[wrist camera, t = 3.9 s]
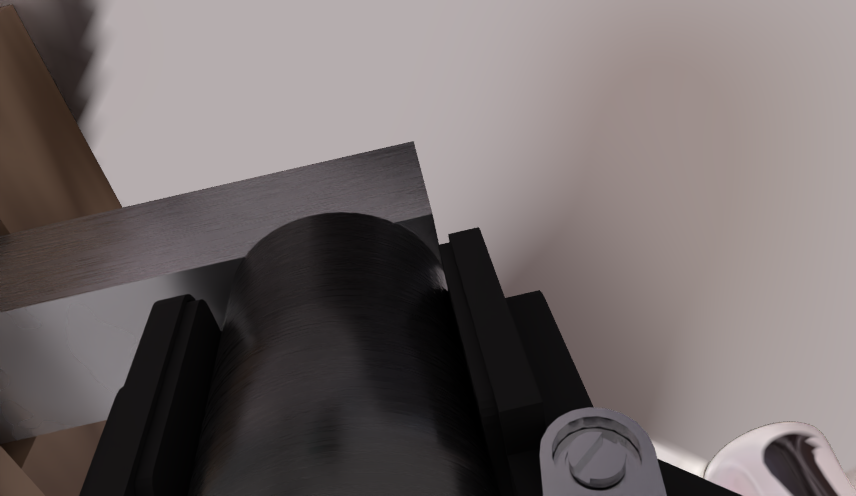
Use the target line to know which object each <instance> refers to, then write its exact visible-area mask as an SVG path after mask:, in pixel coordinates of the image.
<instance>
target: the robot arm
mask: <svg viewBox="0 0 856 496" xmlns="http://www.w3.org/2000/svg"><path fill="white" fill-rule="evenodd" d="M449 241H450V242H449V243H445V244H440V245H438V246H439V251H440V256H441V261H442V265H443V270H444V274H445V279H446V284H447V288H448V293H449V297H450V301H451V305H452V309H453V313H454V317H455V321H456V325H457V329H458V333H459V337H460V341H461V345H462V349H463V353H464V357H465V361H466V365H467V369H468V373H469V377H470V381H471V385H472V389H473V393H474V397H475V401H476V405H477V409H478V413H479V417H480V421H481V425H482V429H483V433H484V437H485V441H486V445H487V449H488V453H489V457H490V461H491V465H492V469H493V473H494V475H495V477H496V480H497V483H498V486H499V489H500V493H501V496H743V495H740V494H738V493H736V492H733V491H731V490H729V489H726V488H724V487H722V486H719V485H717V484H715V483H712V482H710V481H708V480H705V479H703V478H701V477H699V476H696V475H694V474H692V473H689V472H687V471H685V470H682V469H680V468H678V467H675V466H673V465H671V464H668V463H666V462H664V461H662V460H659V459H657V456H656V452H655V448H654V446H653V444H652V442H651V440H650V438H649V435H648V434H647V432H646V431H645V430H644V429H643V428H642V427H641V426H640V425H639V424H638V423H637V422H636V421H634V420H633V419H631V418H629V417H628V416H626V415H624V414H622V413H620V412H616V411H613V410H610V409H607V408H594V407H593V405H592V403H591V400H590V398H589V396H588V394H587V391H586V389H585V387H584V385H583V383H582V380H581V378H580V376H579V373H578V371H577V369H576V367H575V365H574V362H573V360H572V358H571V356H570V353H569V351H568V349H567V347H566V344H565V342H564V340H563V338H562V335H561V333H560V331H559V329H558V327H557V324H556V322H555V320H554V318H553V315H552V313H551V311H550V309H549V307H548V304H547V302H546V300H545V298H544V296H543V294H542V293H541V291H540V290H539V291H534V292H530V293H525V294H521V295H517V296H512V297H508V298H505V297H504V294H503V291H502V289H501V286H500V283H499V280H498V278H497V275H496V272H495V270H494V267H493V264H492V261H491V259H490V256H489V253H488V250H487V247H486V245H485V242H484V239H483V237H482V234H481V231H480V229H479V228H473V229H469V230H465V231H460V232H456V233H452V234H449ZM221 333H222V332H221V330H220V328H219V326H218V324H217V322H216V320H215V318H214V316H213V314H212V312H211V310H210V308H209V306H208V304H207V303H206V301H204V300H203V299H200V300H195V298H194V297H193V296H192V295H191V294H185V295H180V296H176V297H172V298H167V299H163V300H158V301H156V302H155V303H154V304H153V306H152V309H151V312H150V314H149V317H148V320H147V323H146V325H145V328H144V331H143V334H142V336H141V339H140V342H139V345H138V348H137V350H136V353H135V356H134V359H133V361H132V364H131V367H130V370H129V372H128V375H127V378H126V381H125V384H124V386H123V387H122V388H120V389H119V391H118V393H117V395H116V397H115V399H114V402H113V405H112V407H111V410H110V413H109V415H108V418H107V421H106V424H105V426H104V429H103V432H102V434H101V437H100V440H99V443H98V445H97V448H96V451H95V453H94V456H93V459H92V462H91V464H90V467H89V470H88V472H87V475H86V478H85V480H84V483H83V486H82V489H81V491H80V494H79V496H187V495H188V491H189V486H190V481H191V476H192V472H193V467H194V462H195V457H196V452H197V448H198V443H199V438H200V433H201V429H202V424H203V419H204V414H205V409H206V405H207V400H208V395H209V390H210V385H211V381H212V376H213V371H214V366H215V362H216V357H217V352H218V347H219V342H220V338H221Z"/></svg>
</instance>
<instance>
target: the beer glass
mask: <svg viewBox="0 0 856 496" xmlns="http://www.w3.org/2000/svg"><path fill="white" fill-rule="evenodd" d="M704 479H705V480H708V481H710V482H712V483H715V484H717V485H719V486H722V487H724V488H726V489H729V490H731V491H733V492H736V493H738V494H740V495H743V496H856V490H855V488H854V487H853V486H852V484H851V482H850V481H849V479H848V478H847V476H846V474H845V473H844V471H843V469H842V467H841V465H840V463H839V461H838V460H837V458H836V456H835V454H834V452H833V450H832V448H831V446H830V444H829V442H828V441H827V439H826V437H825V436H824V434H823V433H822V432H821V431H820V430H818V429H817V428H816V427H814V426H812V425H809V424H806V423H801V422H779V423H773V424H768V425H765V426H762V427H758V428H756V429H753V430H751V431H748V432H747V433H744V434H742V435H741V436H739V437H737V438H735V439H734V440H733V441H731V442H729V443H728V444H727V445H725V446H724V447H723V448H722V449H721V450H720V451H719V452H718V453H717V454H716V455H715V456H714V457H713V459H712V460H711V461H710V463H709V465H708V467H707V469H706V472H705V476H704Z"/></svg>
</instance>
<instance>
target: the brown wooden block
mask: <svg viewBox="0 0 856 496" xmlns="http://www.w3.org/2000/svg"><path fill="white" fill-rule="evenodd" d="M119 208H122V206H121V204H120V202H119V200H118V199H117V197H116V195H115V193H114V191H113V189H112V188H111V186H110V184H109V182H108V180H107V178H106V176H105V175H104V173H103V171H102V169H101V167H100V165H99V164H98V162H97V160H96V158H95V156H94V154H93V153H92V151H91V149H90V147H89V145H88V143H87V142H86V140H85V138H84V136H83V134H82V132H81V130H80V129H79V127H78V125H77V123H76V121H75V119H74V118H73V116H72V114H71V112H70V110H69V108H68V107H67V105H66V103H65V101H64V99H63V97H62V95H61V94H60V92H59V90H58V88H57V86H56V84H55V83H54V81H53V79H52V77H51V75H50V73H49V72H48V70H47V68H46V66H45V64H44V62H43V61H42V59H41V57H40V55H39V53H38V51H37V49H36V48H35V46H34V44H33V42H32V40H31V38H30V37H29V35H28V33H27V31H26V29H25V27H24V26H23V24H22V22H21V20H20V18H19V16H18V15H17V13H16V11H15V9H14V7H13V5H8V6H3V7H0V236H1V235H6V234H10V233H14V232H19V231H23V230H27V229H32V228H36V227H41V226H45V225H49V224H54V223H58V222H62V221H67V220H71V219H76V218H80V217H84V216H89V215H93V214H97V213H102V212H106V211H111V210H115V209H119ZM106 421H107V420H104V421H100V422H95V423H91V424H86V425H82V426H78V427H73V428H69V429H65V430H60V431H56V432H51V433H47V434H43V435H38V436H34V437H30V438H25V439H21V440H16V441H12V442H8V443H3V444H0V496H79V494H80V491H81V489H82V486H83V483H84V480H85V478H86V475H87V472H88V470H89V467H90V464H91V462H92V459H93V456H94V453H95V451H96V448H97V445H98V443H99V440H100V437H101V434H102V432H103V429H104V426H105V424H106Z"/></svg>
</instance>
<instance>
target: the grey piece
mask: <svg viewBox="0 0 856 496" xmlns="http://www.w3.org/2000/svg"><path fill="white" fill-rule="evenodd" d="M438 245H439V243H438V238H437V233H436V229H435V224H434V219H433V215H432V211H431V207H430V203H429V199H428V195H427V191H426V188H425V184H424V180H423V176H422V172H421V168H420V164H419V161H418V157H417V153H416V149H415V145H414V142H408V143H404V144H399V145H395V146H391V147H386V148H382V149H378V150H373V151H369V152H365V153H360V154H356V155H352V156H347V157H342V158H339V159H334V160H329V161H325V162H321V163H316V164H312V165H308V166H303V167H299V168H294V169H290V170H286V171H281V172H277V173H272V174H268V175H264V176H260V177H255V178H251V179H246V180H242V181H238V182H233V183H229V184H224V185H220V186H216V187H211V188H207V189H202V190H198V191H194V192H190V193H185V194H181V195H176V196H172V197H168V198H163V199H159V200H154V201H150V202H146V203H141V204H137V205H133V206H128V207H124V208H119V209H115V210H111V211H106V212H102V213H97V214H93V215H89V216H84V217H80V218H76V219H71V220H67V221H62V222H58V223H54V224H49V225H45V226H41V227H36V228H32V229H27V230H23V231H19V232H14V233H10V234H6V235H1V236H0V444H3V443H8V442H12V441H16V440H21V439H25V438H30V437H34V436H38V435H43V434H47V433H51V432H56V431H60V430H65V429H69V428H73V427H78V426H82V425H86V424H91V423H95V422H100V421H104V420H107V418H108V415H109V413H110V410H111V407H112V405H113V402H114V399H115V397H116V395H117V393H118V391H119V389H120V388H122V387H123V386H124V384H125V381H126V378H127V375H128V372H129V370H130V367H131V364H132V361H133V359H134V356H135V353H136V350H137V348H138V345H139V342H140V339H141V336H142V334H143V331H144V328H145V325H146V323H147V320H148V317H149V314H150V312H151V309H152V306H153V304H154V303H155V302H156V301H158V300H163V299H167V298H172V297H176V296H180V295H185V294H191V295H192V296H193V297H194V298H195V300H200V299H203V300H204V301H206V303H207V304H208V306H209V308H210V310H211V312H212V314H213V316H214V318H215V320H216V322H217V324H218V326H219V328H220V330H221V332H222V333H221V338H220V342H219V347H218V352H217V357H216V362H215V366H214V371H213V376H212V381H211V385H210V390H209V395H208V400H207V405H206V409H205V414H204V419H203V424H202V429H201V433H200V438H199V443H198V448H197V452H196V457H195V462H194V467H193V472H192V476H191V481H190V486H189V491H188V495H187V496H501V493H500V489H499V486H498V483H497V480H496V477H495V475H494V473H493V469H492V465H491V461H490V457H489V453H488V449H487V445H486V441H485V437H484V433H483V429H482V425H481V421H480V417H479V413H478V409H477V405H476V401H475V397H474V393H473V389H472V385H471V381H470V377H469V373H468V369H467V365H466V361H465V357H464V353H463V349H462V345H461V341H460V337H459V333H458V329H457V325H456V321H455V317H454V313H453V309H452V305H451V301H450V297H449V293H448V288H447V284H446V279H445V274H444V270H443V265H442V261H441V256H440V251H439V246H438Z"/></svg>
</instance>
